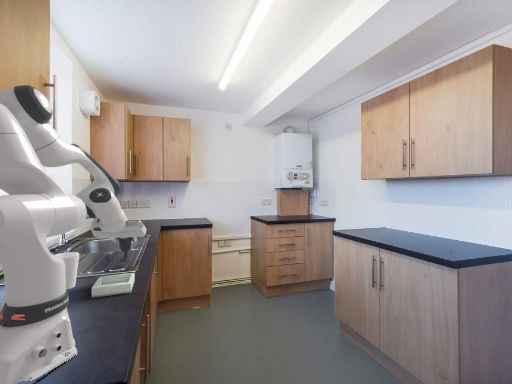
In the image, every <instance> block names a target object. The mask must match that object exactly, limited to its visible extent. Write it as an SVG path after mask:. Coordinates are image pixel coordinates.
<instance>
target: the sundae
mask: <svg viewBox="0 0 512 384" xmlns="http://www.w3.org/2000/svg"><path fill="white" fill-rule="evenodd" d="M116 239H117V240H118V243H119V248H120V251H121V252H122V253H124V257H123V258H122V259H120V260H119V261H120V262H122V263H124V262H130V261H132V260H133V258H132V257H129V255H128V252H129V251H131V248H132V242H133V241H132V237H124V238H116Z"/></svg>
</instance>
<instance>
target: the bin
mask: <svg viewBox="0 0 512 384" xmlns="http://www.w3.org/2000/svg"><path fill="white" fill-rule="evenodd" d="M135 276H136V274H135V272H131V273H128V272H127V273H122V274H121V273H120V274H112V275H111V274H110V275H102V276H99V277H98V279H96V282H95V283H94V284H93V286H92V287H91V298H92V299H93V298H99V297H101V298H102V297H106V296H115V295H123V294H131V293H132V290H133V287H134V284H135V282H136V278H135Z"/></svg>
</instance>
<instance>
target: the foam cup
mask: <svg viewBox="0 0 512 384" xmlns="http://www.w3.org/2000/svg"><path fill="white" fill-rule="evenodd" d="M55 255H57V256H59V257H61V258H62V259H63V260H64V262H65V278H66V290H67V291H68V290H71V289H73V288H75V286H76V282H77V276H78V275H77V274H78V269H79V267H78V265H79V261H80V253H79V252H76V251H75V252H74V251H72V252H71V251H70V252H61V253H57V254H55Z"/></svg>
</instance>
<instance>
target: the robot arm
mask: <svg viewBox="0 0 512 384" xmlns="http://www.w3.org/2000/svg"><path fill="white" fill-rule="evenodd" d="M53 112H54V111H53V109H52V105H51V103H50V101H49V99H48V98H47V97H46V96H45V95H44V94H43V93H42V92H41V91H40V90H39V89H38V88H37V87H34V86H32V85H29V84H24V85H23V84H22V85H15V86H13V87H11V88H6V89H5V88H4V89H0V190H1V191H3V192H5V193H7V194H4V195H0V266H1V268H2V271H3V277H4V287H5V300H6V301H5V303H3V307H2V310H1V311H0V384H17V383H18V382H21V381H28V380H30V381H32V380H34V379H36V378H38V377H40V376H42V375H43V374H45V373H47V372H48V371H50V370H52V369H53V368H55V367H57V366H59V365H61V364H62V363H64V362H66V361H67V362H69V361H70V360H72V359H73V358H75V357H76V356H77V355H78V349H77V347H76V340H75V338H74V336H73V329H72V324H71V320H70V316H69V312H68V307H69V301H70V300H69V299H70V296H69V292H68V289H67V290H66V278H65V262H64V260H63V259H62V258H61V257H59V256H57V255H56V254H54V253H52V252H51V251H50V249H49V248H48V244H47V240H46V239H47V238H51V237H55V236H60V235H65V234H67V233H69V232H71V231H74V230H76V229H77V228H79V227H80V226H82V225H83V223H85V221H86V218H87V219H93V220H92V222H91V225H90V226H89V227H90V230H91V232H92V235H93V237H94V238H95V239H99V240H100V239H108V240H110V241H112V242H113V243H119V241H118V240H117V239H116V238H124V237H132V241H131V242H137V240H138V238H142V237H145V236H146V234H147V228H146V225H144V222H143V221H141V220H138V219H134V220H131V219H129V220H128V217H127V216H126V213H125V211H124V210H123V209H122V206H121V204H120V201H119V200H118V198H117V196H119V195H120V194H121V183H120V181H119V180H117V179H116V178H115V176H113V175H111V174H110V173H109V172H108V171H107V170H105V168H104V167H103V166H102V165H101V164H100V163H99V162H97V160H96V159H95V158H93V156H91V154H89V153H88V151H86V150H85V149H84V148H83V147H81V146H80V145H78V144H76V143H69V142H67V141H66V140H64V139H63V137H61V136H60V134H59V133H58V132H57V130H56V129H55V128H54V127H53V126H52V125H51V123H50V122H49V121H50V120H51V119H52V117H53ZM72 164H79V165H80V166H81V167H82V168H83V169H84V170H86V171H87V172H88V173H89V174H90V175H91V176H92V177H93V181H92V182H91V183H90V184H88V185H87V186H86V187H84V189H82V190H80V191H79V192H78V193H76V195H74V194H72V193H70V192H69V191H68V190H66V189H65V188H64V187H63V186H62V185H61V184H60V183H59V182H57V181H56V180H55V179H54V177H53V176H52V175H51V174H50V173H49V172H48V171H47V170H46V168H59V167H64V166H67V165H72ZM45 167H46V168H45ZM75 355H76V356H75ZM74 356H75V357H74ZM72 357H73V358H72ZM71 358H72V359H71ZM69 359H70V360H69ZM68 360H69V361H68ZM67 362H66V363H67ZM30 378H32V379H30Z"/></svg>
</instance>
